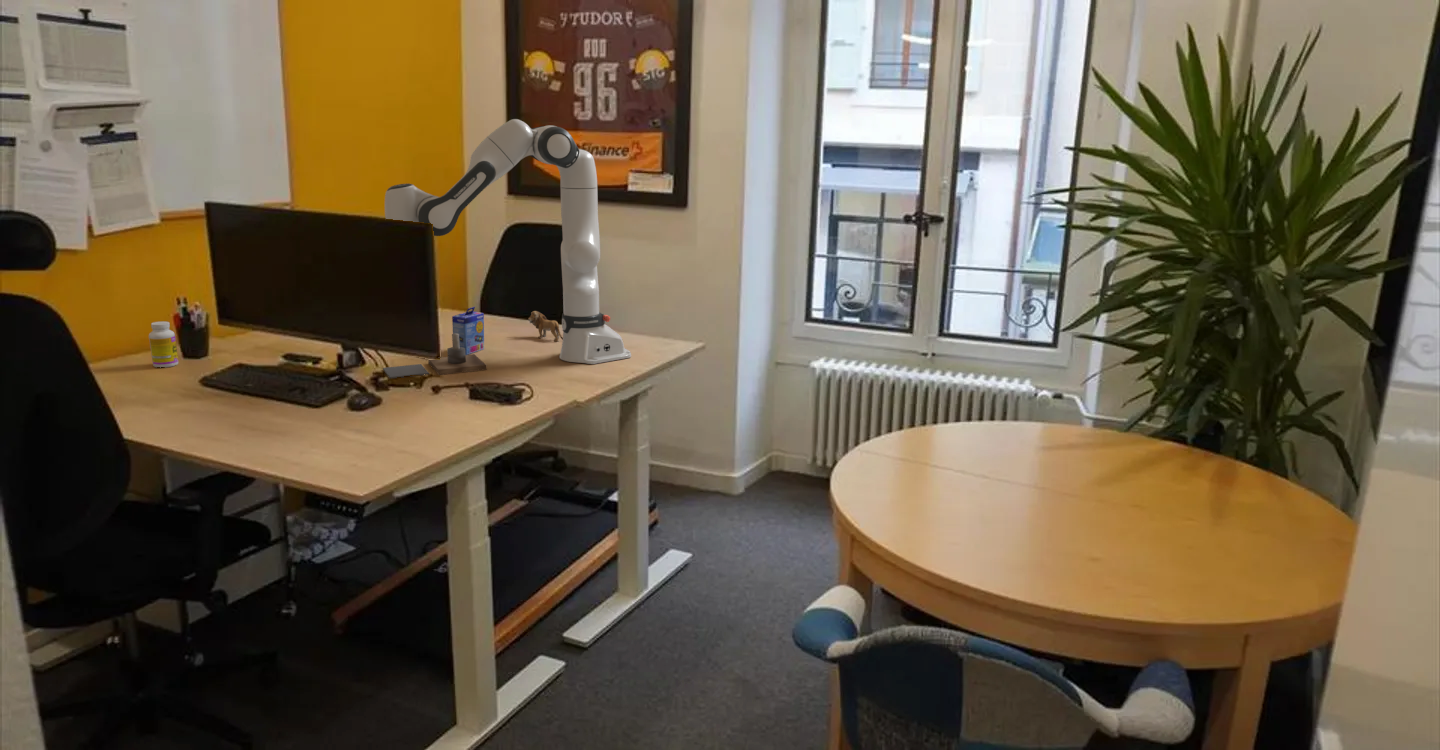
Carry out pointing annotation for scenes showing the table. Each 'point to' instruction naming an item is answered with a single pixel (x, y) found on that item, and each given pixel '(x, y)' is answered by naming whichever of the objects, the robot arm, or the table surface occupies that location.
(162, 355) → the supplement bottle
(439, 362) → the stand
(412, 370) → the mat
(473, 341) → the ink cartridge box
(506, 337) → the table surface
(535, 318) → the lion figurine
